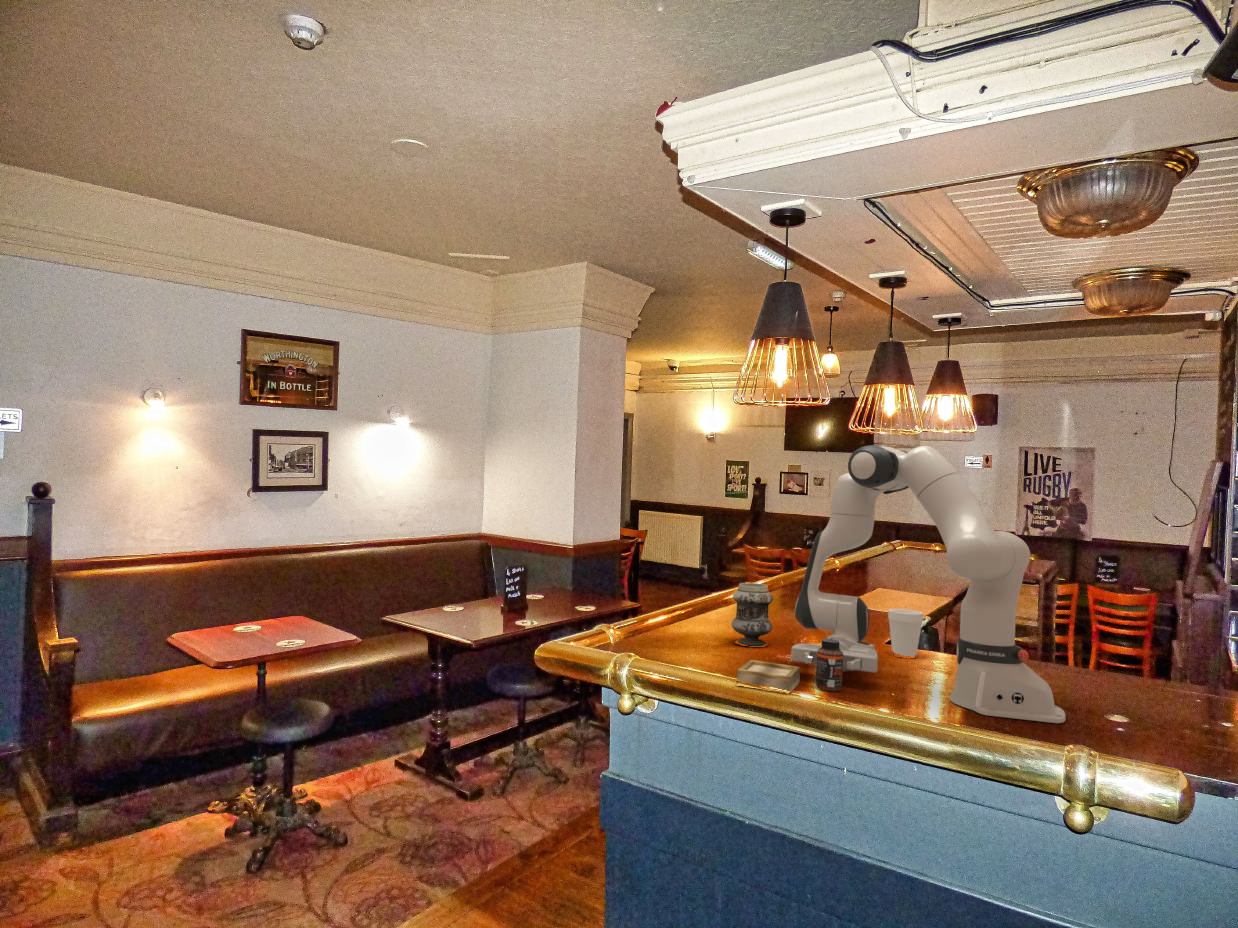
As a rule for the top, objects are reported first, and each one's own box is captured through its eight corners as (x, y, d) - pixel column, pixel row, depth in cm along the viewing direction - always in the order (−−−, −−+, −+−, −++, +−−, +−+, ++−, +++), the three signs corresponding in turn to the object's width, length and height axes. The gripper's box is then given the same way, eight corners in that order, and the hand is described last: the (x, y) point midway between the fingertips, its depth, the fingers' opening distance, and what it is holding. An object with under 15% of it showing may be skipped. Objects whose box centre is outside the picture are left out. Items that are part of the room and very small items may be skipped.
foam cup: (924, 661, 207) (925, 615, 208) (890, 658, 209) (891, 612, 210) (917, 654, 217) (919, 610, 217) (884, 651, 218) (886, 607, 219)
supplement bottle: (837, 693, 167) (839, 643, 168) (812, 688, 170) (814, 640, 171) (844, 688, 172) (846, 640, 173) (819, 683, 176) (821, 636, 176)
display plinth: (799, 682, 175) (800, 666, 175) (788, 694, 164) (789, 677, 165) (750, 675, 180) (751, 659, 181) (736, 685, 170) (737, 669, 170)
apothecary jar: (758, 639, 227) (761, 581, 227) (779, 648, 215) (781, 587, 216) (723, 640, 223) (726, 581, 224) (742, 649, 211) (745, 586, 212)
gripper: (797, 634, 188) (785, 643, 176) (881, 645, 179) (875, 655, 167) (796, 659, 188) (784, 670, 175) (880, 671, 179) (874, 683, 167)
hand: (829, 663), depth 171 cm, fingers open, 8 cm apart
